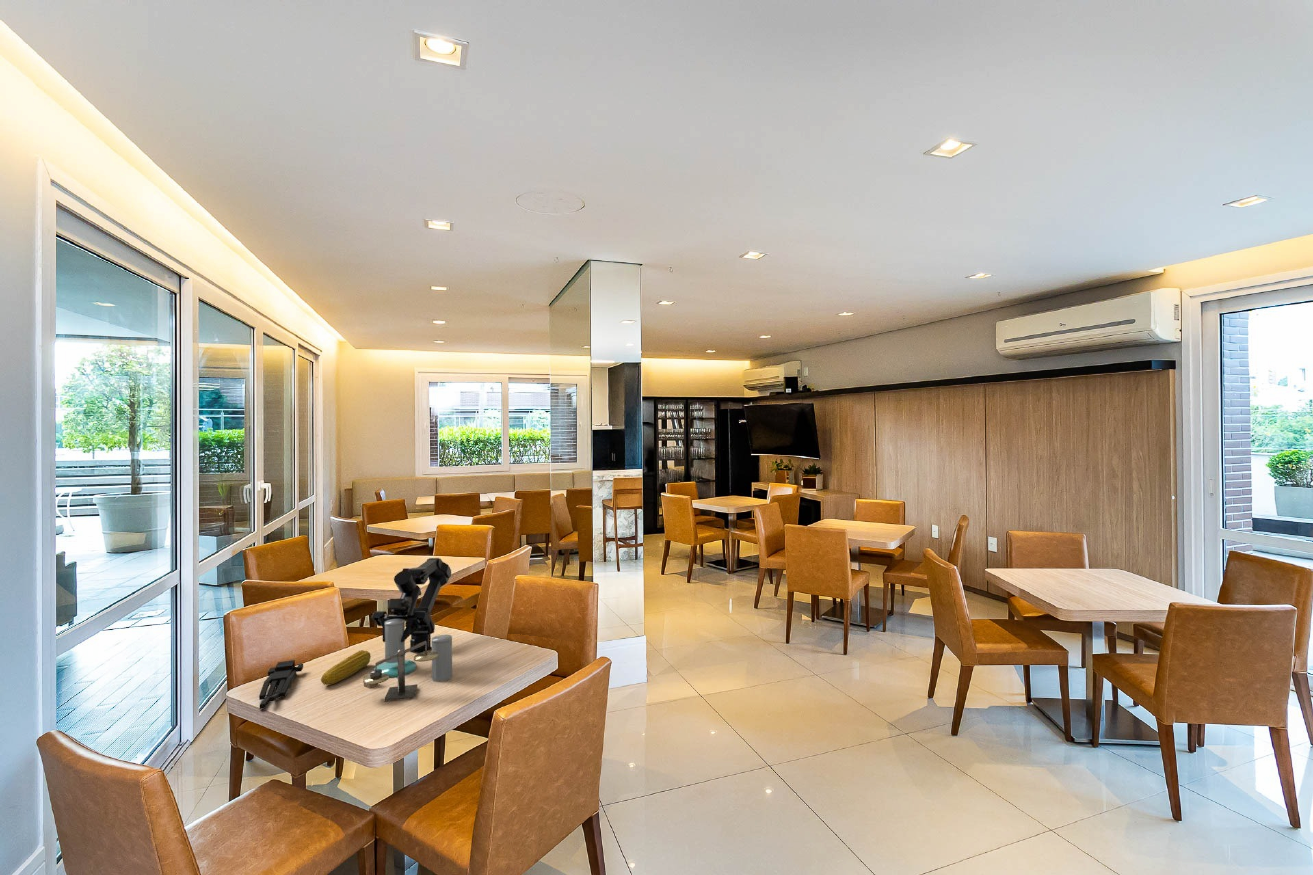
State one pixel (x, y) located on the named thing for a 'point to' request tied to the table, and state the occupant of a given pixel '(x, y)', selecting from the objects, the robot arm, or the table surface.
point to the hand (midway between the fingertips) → (392, 641)
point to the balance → (399, 674)
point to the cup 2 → (442, 658)
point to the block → (370, 685)
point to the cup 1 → (394, 638)
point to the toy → (278, 681)
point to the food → (346, 667)
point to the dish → (396, 668)
